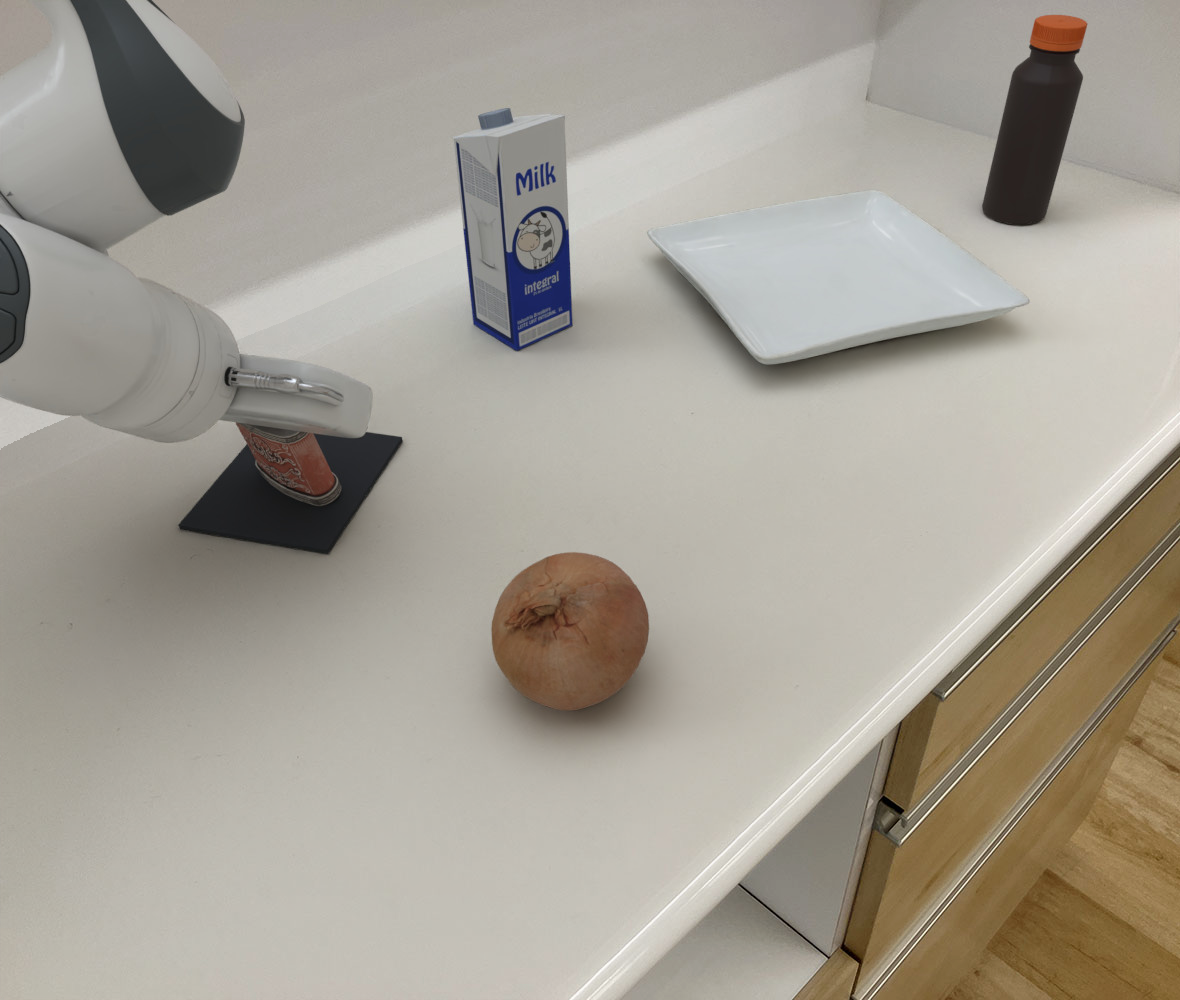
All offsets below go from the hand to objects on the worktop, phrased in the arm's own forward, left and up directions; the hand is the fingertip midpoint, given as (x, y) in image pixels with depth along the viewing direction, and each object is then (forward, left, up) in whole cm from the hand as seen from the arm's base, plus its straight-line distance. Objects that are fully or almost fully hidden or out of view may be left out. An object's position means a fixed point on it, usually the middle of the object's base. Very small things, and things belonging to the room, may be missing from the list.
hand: (272, 410), depth 76 cm
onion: (+26, -13, -8) cm, 30 cm away
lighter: (+1, 0, -7) cm, 7 cm away
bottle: (+56, +63, -8) cm, 84 cm away
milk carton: (+10, +28, -8) cm, 30 cm away
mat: (0, +1, -7) cm, 7 cm away
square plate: (+37, +40, -7) cm, 55 cm away
